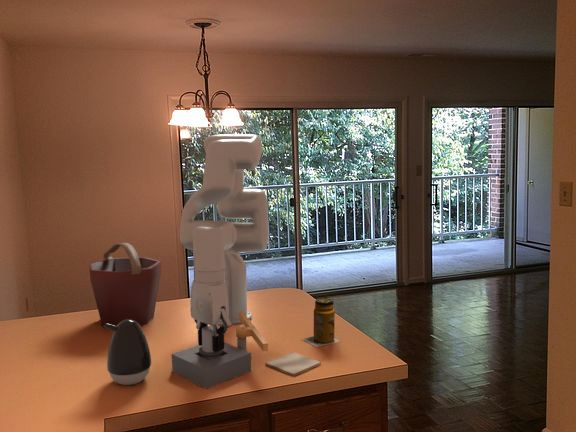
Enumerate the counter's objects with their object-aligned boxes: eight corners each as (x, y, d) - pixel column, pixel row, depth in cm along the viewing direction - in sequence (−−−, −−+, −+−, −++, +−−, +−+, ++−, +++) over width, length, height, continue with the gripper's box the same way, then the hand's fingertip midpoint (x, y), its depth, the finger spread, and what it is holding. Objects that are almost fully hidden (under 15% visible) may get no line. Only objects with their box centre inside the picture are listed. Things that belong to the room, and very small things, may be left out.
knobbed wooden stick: (247, 353, 127) (246, 345, 127) (225, 320, 152) (225, 313, 152) (267, 351, 129) (267, 343, 129) (243, 318, 153) (243, 311, 153)
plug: (194, 371, 133) (193, 329, 131) (213, 363, 137) (212, 323, 135) (209, 378, 129) (208, 335, 127) (228, 370, 133) (227, 328, 131)
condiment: (340, 341, 153) (341, 301, 151) (317, 347, 148) (317, 306, 147) (325, 334, 159) (325, 295, 157) (302, 339, 154) (302, 299, 153)
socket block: (172, 371, 133) (171, 347, 132) (232, 350, 147) (231, 328, 146) (206, 388, 123) (205, 362, 122) (267, 364, 137) (266, 340, 136)
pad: (265, 364, 137) (265, 362, 136) (292, 354, 144) (292, 351, 144) (293, 376, 130) (293, 374, 130) (320, 364, 137) (320, 362, 137)
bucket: (91, 312, 180) (87, 240, 177) (157, 305, 189) (154, 236, 185) (93, 336, 158) (89, 253, 155) (168, 326, 166) (166, 248, 163)
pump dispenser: (112, 372, 132) (109, 313, 130) (155, 370, 133) (152, 312, 131) (102, 390, 122) (98, 327, 120) (147, 389, 123) (145, 325, 121)
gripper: (176, 272, 133) (178, 342, 135) (219, 284, 121) (220, 361, 123) (201, 268, 138) (202, 335, 141) (244, 279, 126) (245, 352, 129)
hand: (211, 346), depth 132 cm, fingers open, 5 cm apart
